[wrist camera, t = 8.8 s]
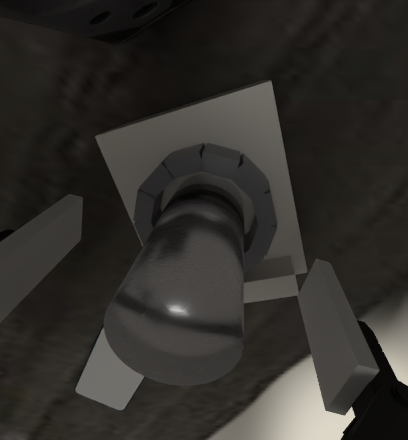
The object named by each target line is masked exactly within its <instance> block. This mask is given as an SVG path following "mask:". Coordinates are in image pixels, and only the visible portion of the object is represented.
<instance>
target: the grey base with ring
mask: <svg viewBox="0 0 408 440" xmlns="http://www.w3.org/2000/svg"><path fill="white" fill-rule="evenodd" d="M95 138H96V140H97V143H98V145H99V147H100V150H101V152H102V154H103V156H104V159H105V161H106V163H107V166H108V168H109V170H110V173H111V175H112V177H113V179H114V182H115V184H116V186H117V189H118V191H119V193H120V196H121V198H122V200H123V202H124V205H125V207H126V209H127V212H128V214H129V216H130V219H131V221H132V223H133V225H134V228H135V230H136V232H137V235H138V237H139V239H140V242H141V244H142V246H144V244H145V242H146V241H147V239H148V237H149V236H150V234H151V232H152V231H153V229H154V227H155V225H156V223H157V221H158V219H159V217H160V215H161V213H162V212H163V210H164V208H165V207H166V205H167V203H168V202H169V200H170V199H171V197H172V196H173V195H174V193H175V191H176V190H177V188H178V187H179V185H180V184H181V183H182V182H183V181H185V180H186V179H188V178H189V177H192V176H194V175H197V174H205V173H208V174H213V175H216V176H220V177H224V178H226V179H227V180H229V181H230V182H231V183H232V184H234V186H235V187H236V188H237V189H238V191H239V192H240V194H241V197H242V200H243V205H244V232H245V242H244V303H249V302H256V301H263V300H269V299H276V298H283V297H290V296H296V295H298V294H299V291H298V287H297V282H296V277H295V275H296V274H302V273H307V268H306V262H305V257H304V252H303V246H302V241H301V236H300V230H299V225H298V220H297V215H296V209H295V204H294V199H293V193H292V188H291V183H290V177H289V172H288V167H287V161H286V156H285V151H284V145H283V140H282V135H281V129H280V124H279V119H278V114H277V108H276V103H275V98H274V92H273V87H272V82H271V80H266V79H264V80H261V81H258V82H255V83H251V84H248V85H245V86H242V87H239V88H236V89H233V90H229V91H226V92H223V93H220V94H217V95H214V96H211V97H207V98H204V99H201V100H198V101H195V102H192V103H189V104H185V105H182V106H179V107H176V108H173V109H170V110H167V111H163V112H160V113H157V114H154V115H151V116H148V117H145V118H141V119H138V120H135V121H132V122H129V123H126V124H123V125H121V126H118V127H116V128H114V129H111V130H109V131H106V132H104V133H102V134H99V135H97V136H95Z"/></svg>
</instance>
